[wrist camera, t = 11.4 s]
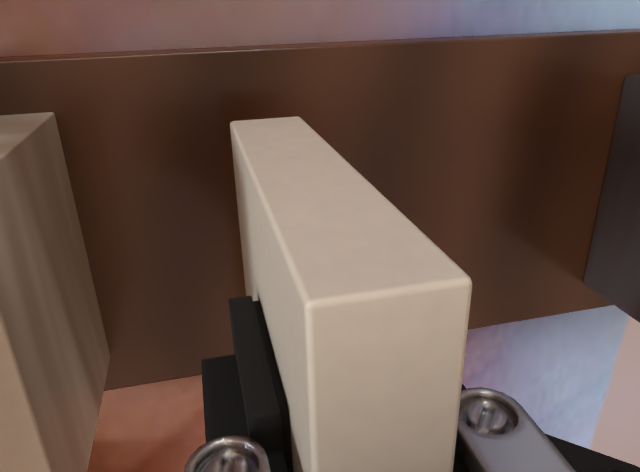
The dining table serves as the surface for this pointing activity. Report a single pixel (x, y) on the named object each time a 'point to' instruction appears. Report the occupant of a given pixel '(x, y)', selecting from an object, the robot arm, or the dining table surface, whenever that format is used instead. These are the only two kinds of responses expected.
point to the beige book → (349, 306)
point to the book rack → (222, 211)
